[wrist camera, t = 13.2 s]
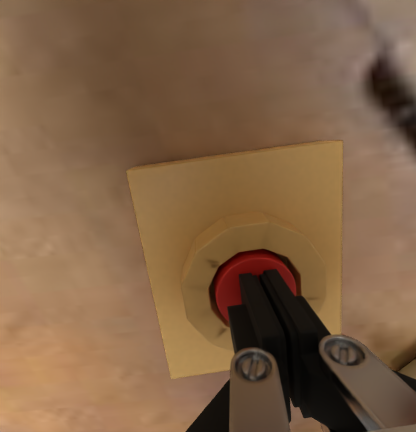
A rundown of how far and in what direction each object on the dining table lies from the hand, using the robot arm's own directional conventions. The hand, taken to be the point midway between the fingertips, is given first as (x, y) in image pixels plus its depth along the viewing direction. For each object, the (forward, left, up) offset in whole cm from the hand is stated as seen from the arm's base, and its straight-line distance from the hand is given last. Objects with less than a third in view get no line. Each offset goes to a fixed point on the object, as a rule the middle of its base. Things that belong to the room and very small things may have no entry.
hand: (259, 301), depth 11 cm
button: (0, 0, -2) cm, 2 cm away
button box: (0, 0, -4) cm, 4 cm away
